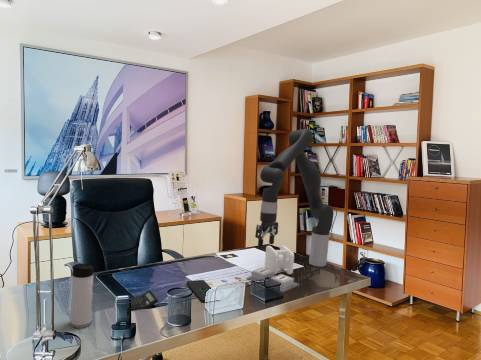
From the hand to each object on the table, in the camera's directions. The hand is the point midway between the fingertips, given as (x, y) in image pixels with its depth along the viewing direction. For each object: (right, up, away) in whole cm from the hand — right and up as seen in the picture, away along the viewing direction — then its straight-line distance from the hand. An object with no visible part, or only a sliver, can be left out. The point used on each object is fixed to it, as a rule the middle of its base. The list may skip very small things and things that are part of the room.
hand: (265, 245), depth 174 cm
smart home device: (-28, -17, -18) cm, 37 cm away
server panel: (+3, -17, -2) cm, 17 cm away
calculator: (-50, -16, -34) cm, 62 cm away
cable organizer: (+7, -16, +14) cm, 22 cm away
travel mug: (-64, -17, -51) cm, 84 cm away
